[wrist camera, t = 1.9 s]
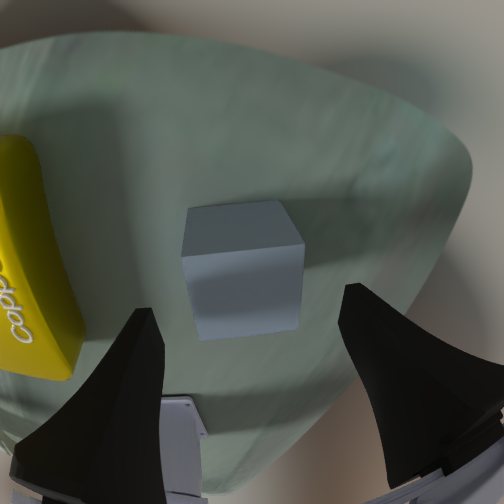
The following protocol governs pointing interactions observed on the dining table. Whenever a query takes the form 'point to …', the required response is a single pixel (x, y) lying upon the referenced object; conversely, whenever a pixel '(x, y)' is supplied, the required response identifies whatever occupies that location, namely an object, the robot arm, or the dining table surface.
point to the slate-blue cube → (243, 269)
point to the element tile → (33, 275)
